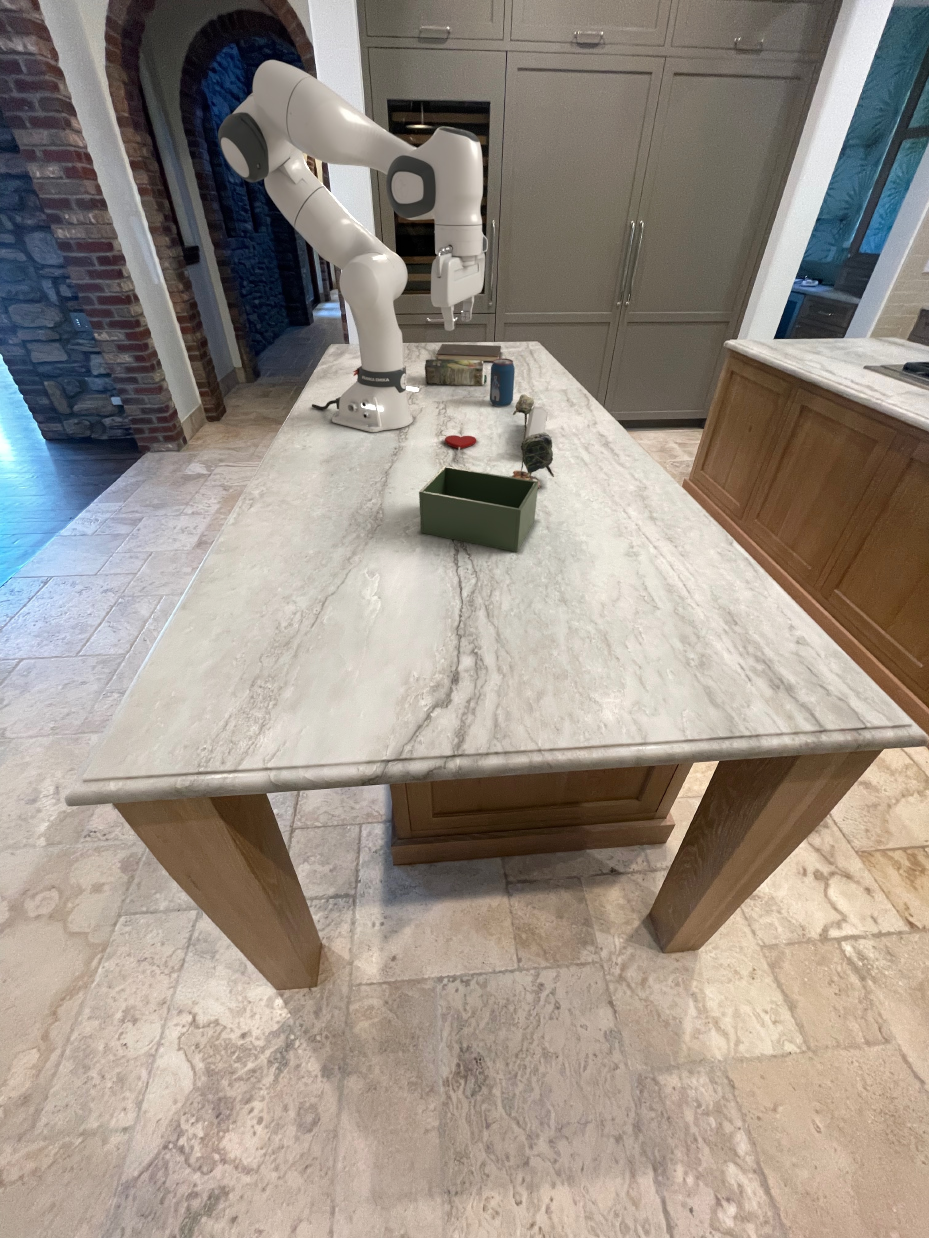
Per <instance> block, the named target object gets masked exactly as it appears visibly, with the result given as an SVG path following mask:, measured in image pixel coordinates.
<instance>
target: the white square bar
mask: <svg viewBox="0 0 929 1238" xmlns="http://www.w3.org/2000/svg"><path fill="white" fill-rule="evenodd" d="M548 412H549V411H547V410H546V409H545V408H544V407H542V406H535V405H533V406H532V409H531V411H530V413H529V414H528V415H527V423H526V424H527V425H526V427H527V429H526V438H527V437H528V436H530V435H533V434H534V435H535V434H538V433H543V432H544V433H545V429H546V422H547V421H548V415H549V414H548Z"/></svg>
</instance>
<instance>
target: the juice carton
mask: <svg viewBox="0 0 929 1238" xmlns="http://www.w3.org/2000/svg"><path fill="white" fill-rule="evenodd" d="M484 363H485V362H483V361H475V360H437V359H434V358H433V359H429V358H428V359H425V364H424V372H425V374H424V375H425V382H426V384H427V385H428V384H433V383H435V384H437V385H444V386H445V385H447V386H475V387H476V386H477V387H479V386H484V384H486V383H487V382H488V377H487V374H485V366H484Z"/></svg>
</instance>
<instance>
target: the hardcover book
mask: <svg viewBox="0 0 929 1238" xmlns="http://www.w3.org/2000/svg"><path fill="white" fill-rule="evenodd" d="M501 349H502V346H501V345H490V344H489V345H487V344H458V343H442V344H441V345H440V347H439V348H438V351H437V352H436V355H437V358H436V360H475V361H483V363H493V360H495V359H500V356H501Z"/></svg>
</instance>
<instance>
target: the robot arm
mask: <svg viewBox="0 0 929 1238" xmlns="http://www.w3.org/2000/svg"><path fill="white" fill-rule="evenodd" d="M256 69H257V70H256V71H255V74H254V76H253V79H252V80H253V81H252V92H251V93H250V94H249V95H248V96H247V97H246V99H245V100H243V102H241V104H240V105H239V106H238V107H236V109H235V110H234V111H233V112H232V113H231V114H228V115H227V116H226V117H225V118H224V120H223V121H222V123H221V125H220V126H219V129H218V130H217V131H218V133H217V137H218V143H219V147H220V151H221V153H222V155H223V157H224V159H225V161H226V162H227V164H228V166H229V167H230V168H231V169H232V170H233V172H234V173H235V174H236V175H237V176H238V177H240V178H241V179H242V180H245V181H246V182H248V183H257V182H259V181H262V180H264V181H263V183H264V188H265V191H266V193H267V194H268V196H269V197H270V199H271V200H272V201H273V203H274V204H275V206H276V208H277V209H278V210H279V211H280V213H281V214H282V216H283V217H284V218H285V220H287V221H288V222H289V224H290V225H291V227H292V228H293V229H294V230H295V231H296V232H297V233H298V234H299V235H300V236H301V237H302V238H303V239H304V240H305V241H306V242H307V243H308V244H309V245H310V247H312V249H313V250H314V251H315V252H316V253H317V254H318V256H320V257H321V258H322V259H323V260H324V261H327V262H329V263H330V264H332V265H334V266H335V267H337V268H338V269H339V270H340V271H341V272H340V275H339V289H340V293H341V297H343V299H344V301H345V303H346V304H348V307H349V309H350V312H351V315H352V316H351V317H352V318H353V322H354V326H355V329H356V335H357V339H358V346H359V356H360V364H361V365H360V366H358V367H357V368H356V369H355V370H353V371H352V372H353V376H354V377H355V376H357V378H356V381H355V382H354V383H353V384H352V385H350V386H349V387H348V389H347V390H345V391H344V392H343V393H342V394H341V395H340V396H339V397H337V398H335V399H331V400H329V401H328V402H326V404H325V405H323V406H322V405H319V404H318V405H317V404H315V403H312V404H311V408H313V409H316V410H320V411H325V410H328V408H329V407H330V406H331V405H336V410H337V411H336V412H335V413H334V414H332V417H331V422H332V423H333V424H338V425H340V426H345V427H349V428H354V429H357V430H360V431H364V432H369V433H377V432H382V431H388V430H389V431H390V430H397V429H401V428H405V427H407V426H409V425H411V424H412V423H413V422H414V417H413V414H412V412H411V408H410V404H409V403H410V402H409V399H408V398H409V397H408V392H407V391H411V392H416V393H417V392H419V388H418V387H414V386H408V378H407V368H406V365H405V359H404V343H403V333H402V330H401V328H400V327H399V323H398V321H397V317H396V312H395V307H394V301H395V300H397V299H398V298H399V297H401V295H402V294H403V292H404V290H405V288H406V286H407V283H408V279H409V276H408V274H409V273H408V269H407V266H406V263H405V261H404V259H402V257H401V256H399V255H398V254H397V253H395V252H394V251H393V250H391V249H390V248H388V247H387V246H386V245H385V244H384V243H383V242H382V241H381V240H380V239H379V238H378V237H376V236H375V235H374V234H373V233H372V232H371V231H369V230H368V229H367V228H366V227H364V225H362V224H361V223H360V222H359V221H357V219H355V218H354V217H353V216H352V215H351V213H349V211H348V210H347V209H346V208H345V207H344V206H343V205H342V203H340V201H339V200H338V199H337V198H336V197H335V196H334V194H332V192H331V191H330V190H329V189H328V188H327V187H326V186H325V185H324V184H323V182H321V180H320V179H319V178H318V177H317V176H315V174H314V173H313V172H312V171H311V169H310V168H309V166H308V165H307V163H306V160H305V157H304V154H305V155H307V156H308V157H311V158H313V159H315V160H317V161H320V162H323V163H326V164H329V165H339V166H354V167H364V168H368V169H369V168H370V169H373V170H376V171H378V172H381V173H383V174H384V175H386V181H385V185H386V186H385V187H386V194H387V195H386V196H387V198H388V201H389V204H390V206H391V208H392V210H393V211H394V212H395V213H396V214H397V215H398V217H400V218H403V219H406V220H410V221H422V220H424V221H425V220H434V250H435V254H436V257H435V259H433V261H432V264H431V273H430V276H431V277H430V300H431V304H432V306H433V307H434V308H435V307H436V308H440V311H441V315H442V318H443V322H444V324H443V325H444V328H443V329H444V330H445V331H450V332H452V331H453V330H455V329H456V319H455V317H454V311H455V305H457V304H459V303H461V302H462V310H461V315H460V319H461V322H467V323H468V322H470V321H471V320H472V312H473V308H474V303H475V296H476V295H479V294H481V293H482V290H483V287H484V282H485V280H484V279H485V269H486V267H485V266H486V255H485V253H486V252H487V251H488V247H489V246H488V244H489V240H488V238H487V237H486V235H484V233H483V219H482V214H481V206H482V205H481V204H482V199H483V194H484V167H483V165H484V163H483V151H482V146H481V142H480V139H479V138H478V136H477V135H476V134H475V133H473V132H471V131H469V130H465V129H462V128H457V127H456V128H455V127H451V126H440V127H438V128H437V129H436V130H435V131H434V133H433V134H432V135H431V137H430V138H429V139H428V140H427V141H426V142H424V143H422V144H421V145H420V146H418V147H416V146H414V145H413V144H411V143H409V142H407V141H406V140H404V139H403V138H402V137H399V136H397V135H396V134H393V132H391V131H389V130H387V129H386V128H384V127H382V126H381V125H379V124H378V123H376V122H374V120H372V119H371V118H370V117H368V116H367V115H365V114H364V113H363V112H361V110H359V109H358V108H356V107H355V106H354V105H352V104H351V103H350V102H348V101H347V100H346V99H345V98H343V97H342V96H341V95H339V94H338V93H337V92H336V91H334V90H333V89H332V88H330V87H329V86H327V84H325V83H323V82H322V81H320V80H319V79H317V78H316V77H314V76H312V75H311V74H310V73H307V72H306V71H304V70H303V69H300V68H298V67H296V66H294V65H291V64H289V63H286V62H283V61H279V60H276V59H269V60H265V61H263V62H262V63H261V64H260V65H259V66H258V68H256Z"/></svg>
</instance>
